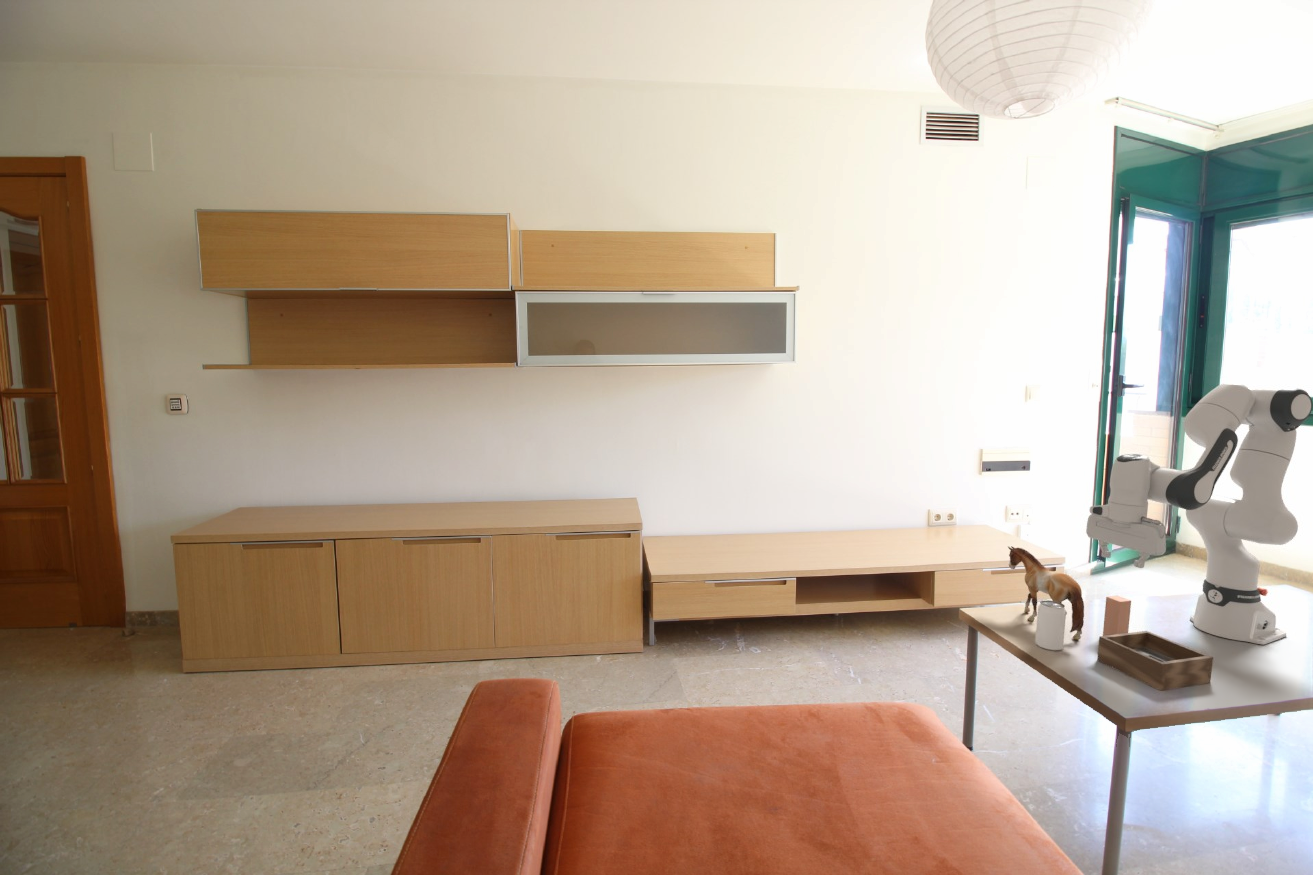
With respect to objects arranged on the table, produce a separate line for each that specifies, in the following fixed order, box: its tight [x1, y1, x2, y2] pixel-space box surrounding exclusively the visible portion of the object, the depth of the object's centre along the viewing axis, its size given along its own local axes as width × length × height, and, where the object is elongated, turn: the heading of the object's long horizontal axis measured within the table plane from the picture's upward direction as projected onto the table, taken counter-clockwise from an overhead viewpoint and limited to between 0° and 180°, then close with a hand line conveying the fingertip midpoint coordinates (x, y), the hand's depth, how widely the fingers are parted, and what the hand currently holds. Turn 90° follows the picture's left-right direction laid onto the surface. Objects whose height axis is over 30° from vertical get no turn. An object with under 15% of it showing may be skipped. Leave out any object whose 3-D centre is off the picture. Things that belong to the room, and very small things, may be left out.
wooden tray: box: [1096, 630, 1214, 691], centre depth 158 cm, size 16×16×6 cm
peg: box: [1102, 595, 1132, 636], centre depth 176 cm, size 4×4×12 cm
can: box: [1034, 599, 1067, 652], centre depth 172 cm, size 6×6×12 cm
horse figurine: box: [1007, 546, 1085, 640], centre depth 184 cm, size 31×8×21 cm, turn 5°
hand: (1122, 562), depth 175 cm, fingers open, 8 cm apart
